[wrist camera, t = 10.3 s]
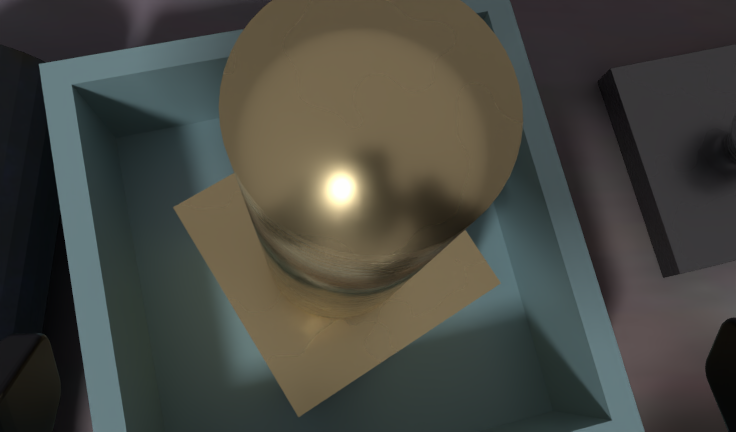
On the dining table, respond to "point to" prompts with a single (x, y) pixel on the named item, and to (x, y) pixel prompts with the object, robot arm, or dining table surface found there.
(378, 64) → the gold trophy
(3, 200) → the pipe connector
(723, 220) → the plate
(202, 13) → the dining table surface
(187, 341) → the bin
